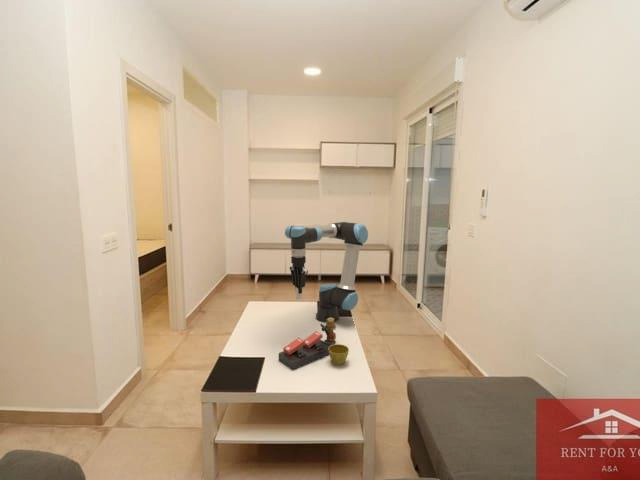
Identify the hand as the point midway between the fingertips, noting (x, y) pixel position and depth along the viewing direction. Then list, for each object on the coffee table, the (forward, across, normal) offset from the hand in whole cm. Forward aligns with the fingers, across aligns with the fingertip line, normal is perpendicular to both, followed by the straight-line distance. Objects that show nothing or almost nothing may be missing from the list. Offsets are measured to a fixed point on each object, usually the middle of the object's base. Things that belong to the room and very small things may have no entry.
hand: (298, 298), depth 183 cm
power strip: (+26, +13, -6) cm, 30 cm away
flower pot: (+27, +27, +3) cm, 38 cm away
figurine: (+27, +8, +14) cm, 32 cm away
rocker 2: (+20, +11, 0) cm, 22 cm away
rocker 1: (+19, +10, -12) cm, 25 cm away
